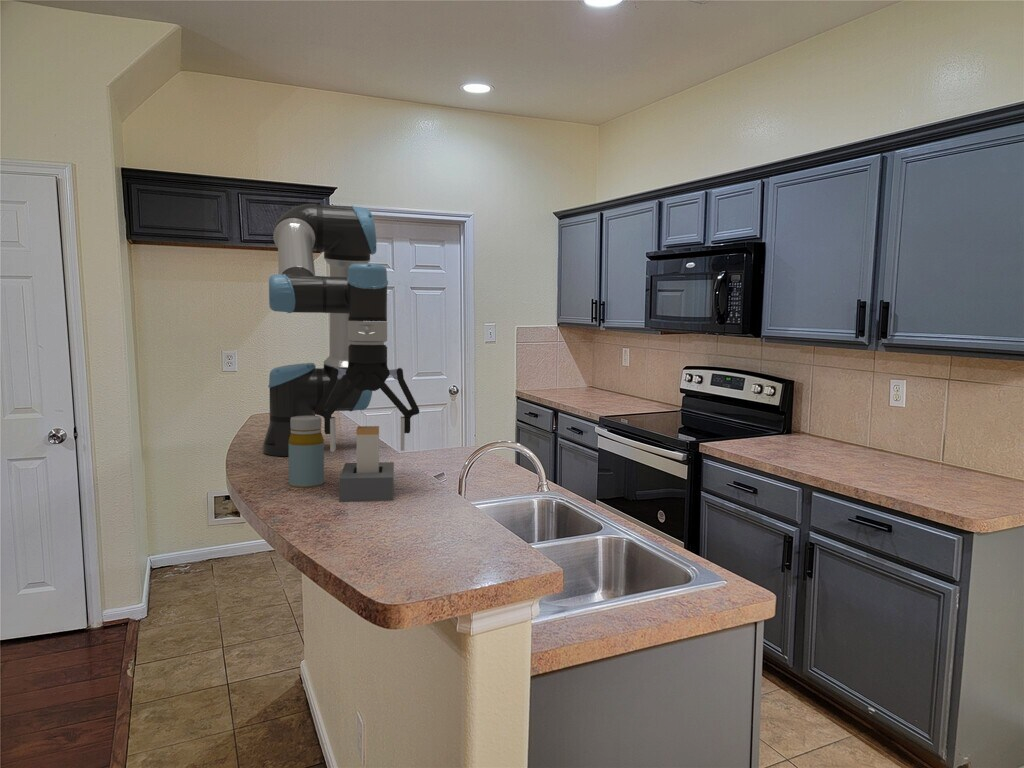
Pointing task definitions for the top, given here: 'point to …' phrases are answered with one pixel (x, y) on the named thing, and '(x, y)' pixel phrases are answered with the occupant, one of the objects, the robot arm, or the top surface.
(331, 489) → the top surface
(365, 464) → the plug
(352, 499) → the gray socket block
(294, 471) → the bottle
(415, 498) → the top surface
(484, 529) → the top surface
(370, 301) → the robot arm
